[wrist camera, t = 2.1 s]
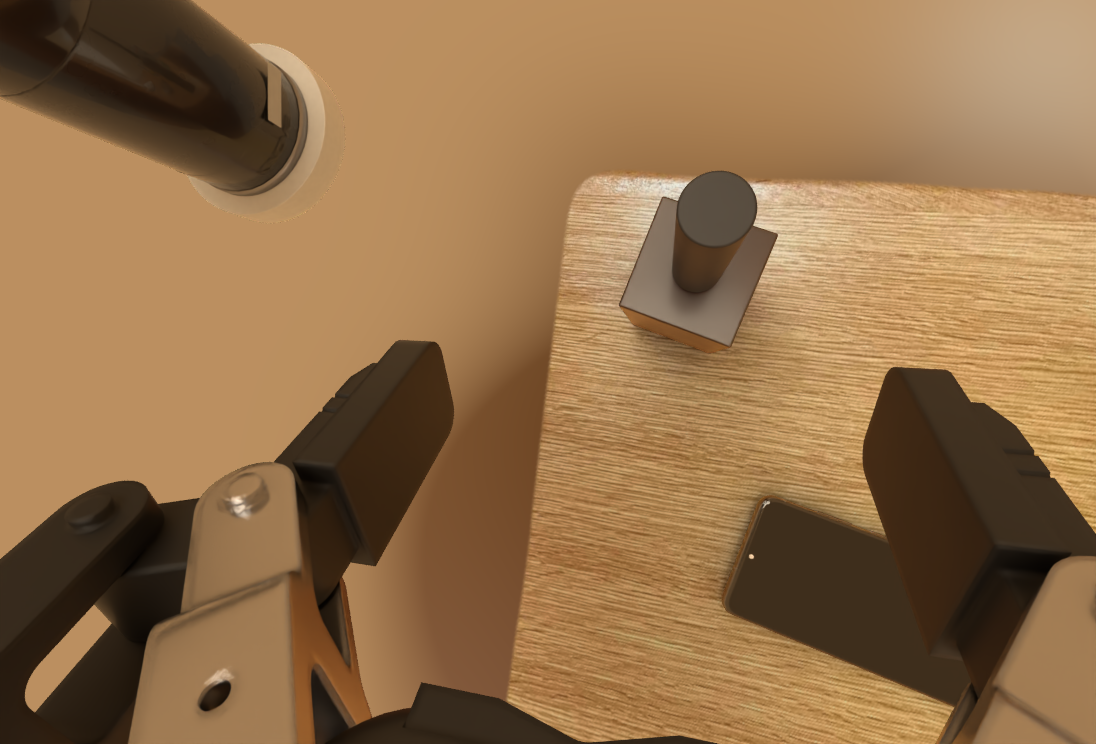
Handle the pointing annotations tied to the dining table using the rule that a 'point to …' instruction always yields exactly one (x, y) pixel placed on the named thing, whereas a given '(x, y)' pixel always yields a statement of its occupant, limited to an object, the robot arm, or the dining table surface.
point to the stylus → (710, 227)
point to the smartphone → (835, 596)
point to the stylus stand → (692, 314)
